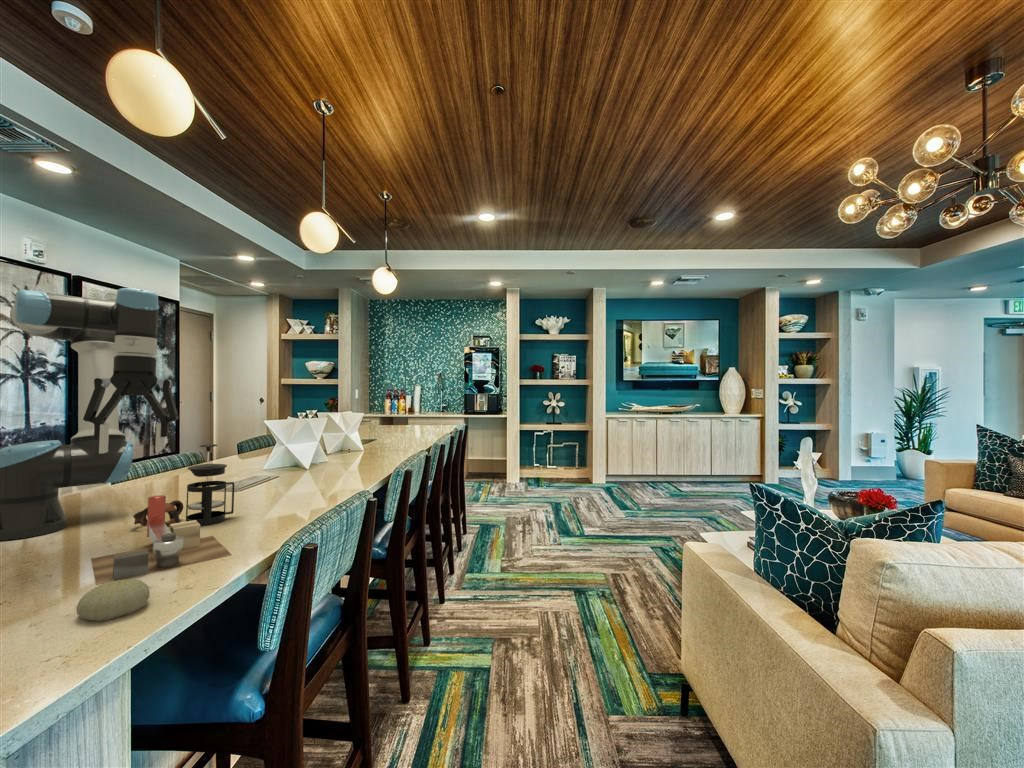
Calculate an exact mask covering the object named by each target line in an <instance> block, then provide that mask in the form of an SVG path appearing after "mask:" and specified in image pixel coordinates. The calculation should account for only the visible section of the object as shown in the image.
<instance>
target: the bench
mask: <svg viewBox="0 0 1024 768" xmlns="http://www.w3.org/2000/svg"><path fill="white" fill-rule="evenodd" d="M175 539H176V533H167V534H163V535H162V536H161V541H172V540H175ZM231 556H233V554H232V553H231V552H230V551H229V550H228V549H227V548H226V547H225V546H224V545H223V544H222V543H221V542H219V541H218V539H217V538H216V537H215V536H213V535H209V536H203V537H200V546H197V547H192V548H187V549H183V553H182V554H181V555H179V556H176V557H173V558H168V559H153V546H151V547H145V548H140V549H139V548H138V549H134V550H129V551H128V550H127V551H123V552H118V553H112V554H109V555H108V554H107V555H102V556H97V557H92V558H90V560H91V566H92V570H93V577H94V582H95V585H96V586H99V585H102V584H104V583H107V582H111V581H117V580H126V579H132V578H134V577H135V578H136V577H140V576H143V575H144V576H145V575H149V574H152V573H153V574H154V573H157V572H162V571H167V570H172V569H175V568H176V569H177V568H180V567H185V566H188V565H189V566H190V565H194V564H198V563H203V562H208V561H212V560H213V561H214V560H216V559H220V558H221V559H222V558H227V557H231Z"/></svg>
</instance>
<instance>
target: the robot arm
mask: <svg viewBox="0 0 1024 768" xmlns="http://www.w3.org/2000/svg"><path fill="white" fill-rule="evenodd" d="M159 309H160V305H159V296H158V294H157V293H156V292H154V291H152V290H147V289H140V288H134V287H133V288H131V287H122V288H118V289H117V292H116V298H115V301H113V300H105V299H99V298H98V299H97V298H90V297H82V296H81V297H80V296H73V295H68V294H60V293H53V292H52V293H51V292H45V291H43V290H29V289H19V290H17V292H16V294H15V298H14V305H12V307H11V309H10V313H9V318H10V320H11V323H12V324H13V325H14V326H15V327H17V328H18V329H20V330H21V331H23V332H25V333H27V334H30V335H32V336H33V335H34V336H37V337H40V338H44V339H50V340H58V341H59V340H60V341H69V342H70V348H71V349H73V350H74V351H75V352H77V354H78V355H77V356H78V358H77V361H78V365H77V367H78V368H77V369H78V373H77V374H78V385H77V386H78V387H77V390H78V393H77V395H78V397H77V398H78V401H77V404H78V409H77V410H78V411H77V414H78V415H77V416H78V418H77V419H78V421H77V422H78V423H77V424H78V425H77V427H78V430H77V433H76V434H75V435H73V436H72V437H71V438H70V444H62V442H61V440H57V439H56V440H54V439H52V440H51V439H50V440H41V441H33V442H32V441H31V442H26V443H24V442H23V443H20V444H19V443H18V444H14V445H13V444H12V445H9V446H8V445H7V446H5V447H1V448H0V540H3V541H10V540H9V539H13V540H20V539H19V538H21V539H27V537H28V538H31V537H32V536H33V537H38V536H43V535H47V534H51V533H54V532H57V531H60V530H63V529H65V527H67V516H66V513H65V511H64V508H63V506H62V505H61V503H60V500H59V490H60V489H64V488H73V487H81V486H90V485H99V484H100V485H105V484H107V483H113V482H121V481H123V480H124V479H126V477H128V475H129V472H130V471H131V467H132V463H133V460H134V459H133V458H134V443H133V442H132V441H129V440H126V437H127V436H126V434H125V433H123V432H122V431H120V429H119V427H120V426H119V423H120V422H119V403H120V402H121V401H122V399H123V398H124V397H125V396H143V397H144V399H145V400H146V401H147V404H148V405H149V406H150V408H151V409H152V410H153V412H154V414H155V415H156V417H157V418H158V420H159V423H156V424H155V425H156V427H155V449H154V450H155V451H154V452H155V453H157V452H158V453H159V452H162V451H164V450H163V449H164V438H167V437H168V436H169V434H170V433H169V432H170V431H169V430H170V423H171V422H174V421H178V420H179V413H178V410H177V407H176V402H175V399H174V395H173V391H172V386H173V381H172V380H170V379H165V380H163V379H158V377H157V359H156V357H154V356H156V355H158V354H157V352H158V325H159V324H158V323H159V322H158V320H159ZM157 385H158V386H159V388H160V389H161V390H162V395H163V399H164V401H165V404H166V405H165V406H166V410H167V413H168V414H167V413H166V412H165V410H164V409H163V407H162V405H161V404H160V402H159V400H158V399H157V398H156V395H155V393H154V391H153V388H154V387H156V386H157ZM37 535H38V536H37ZM33 537H32V538H33Z"/></svg>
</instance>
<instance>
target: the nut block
mask: <svg viewBox="0 0 1024 768" xmlns="http://www.w3.org/2000/svg"><path fill="white" fill-rule="evenodd" d="M169 530H170V531H171V532H172V533H176V537H183V549H187V548H192V547H197V546H200V538H201V526H200V524H199V523H198V522H197V521H196V520H193V521H187V522H186V521H180V523H175V524H170V527H169Z"/></svg>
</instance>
